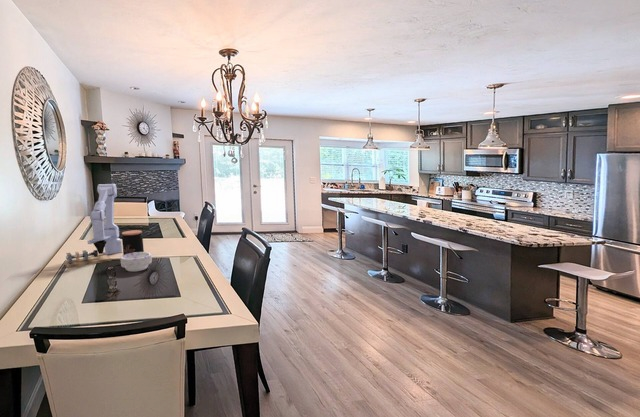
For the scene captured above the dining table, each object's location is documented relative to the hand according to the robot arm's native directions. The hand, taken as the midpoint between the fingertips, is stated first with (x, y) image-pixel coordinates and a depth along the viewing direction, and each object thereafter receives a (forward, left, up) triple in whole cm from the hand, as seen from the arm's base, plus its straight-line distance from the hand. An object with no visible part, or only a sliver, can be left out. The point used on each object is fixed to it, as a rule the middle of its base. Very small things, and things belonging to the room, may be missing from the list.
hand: (100, 253), depth 234 cm
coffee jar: (-13, +20, -4) cm, 24 cm away
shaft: (+10, 0, -1) cm, 10 cm away
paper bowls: (-10, +36, -4) cm, 38 cm away
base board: (+7, 0, -4) cm, 8 cm away
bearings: (+12, 0, -2) cm, 12 cm away
